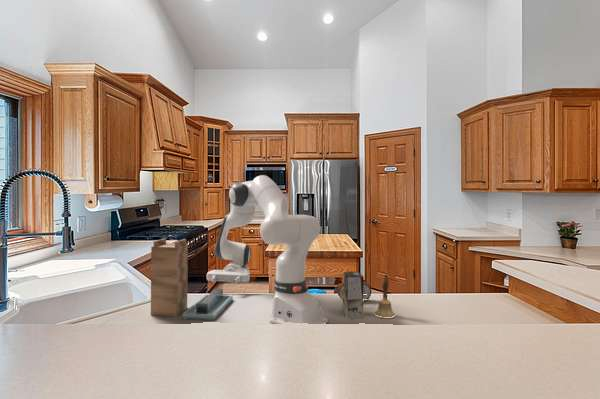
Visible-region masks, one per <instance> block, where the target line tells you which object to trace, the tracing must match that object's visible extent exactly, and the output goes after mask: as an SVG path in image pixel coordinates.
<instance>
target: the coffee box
mask: <svg viewBox="0 0 600 399" xmlns="http://www.w3.org/2000/svg"><path fill="white" fill-rule="evenodd" d="M364 279H365V278H364V275H362V274H361V273H360V272H359V271H344V272H343V282H344V287H343V300H342V305H343V306H342V312H343V311H344V312H343V314H344V315H345V317H346V319H348V318H349V319H363V318H364V301H363V288H364V282H365V281H364Z"/></svg>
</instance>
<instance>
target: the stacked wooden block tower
mask: <svg viewBox="0 0 600 399" xmlns="http://www.w3.org/2000/svg"><path fill="white" fill-rule="evenodd" d="M150 249H151V250H150V251H151V253H150V255H151V256H150V257H151V258H150V260H151V261H150V262H151V263H150V315H151V316H163V317H164V316H165V317H177V316H178V315H180V314H181V313H183V311H185V310H186V309H187V308H188V276H189V275H188V273H189V272H188V262H189V259H188V258H189V255H188V254H189V252H188V251H189V243H187V238H183V239H180V240H176V241H174V243H172V242H167V239H166V238H162V239H157V240H154V241H153V246H151V248H150ZM185 308H186V309H185ZM184 309H185V310H184ZM179 313H180V314H179Z"/></svg>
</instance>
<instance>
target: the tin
mask: <svg viewBox="0 0 600 399" xmlns="http://www.w3.org/2000/svg"><path fill="white" fill-rule="evenodd" d="M343 287H344V281H343V282H340V284H339V285H338V287H337V295H338V296H339V298H340V299H341V300H342V301H343ZM363 294H367V295H363V299H368V300H369V299H370V298H371V295H372V288H371V287H370V285H369V284H368V283H367V282H365V281H364V288H363Z"/></svg>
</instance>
